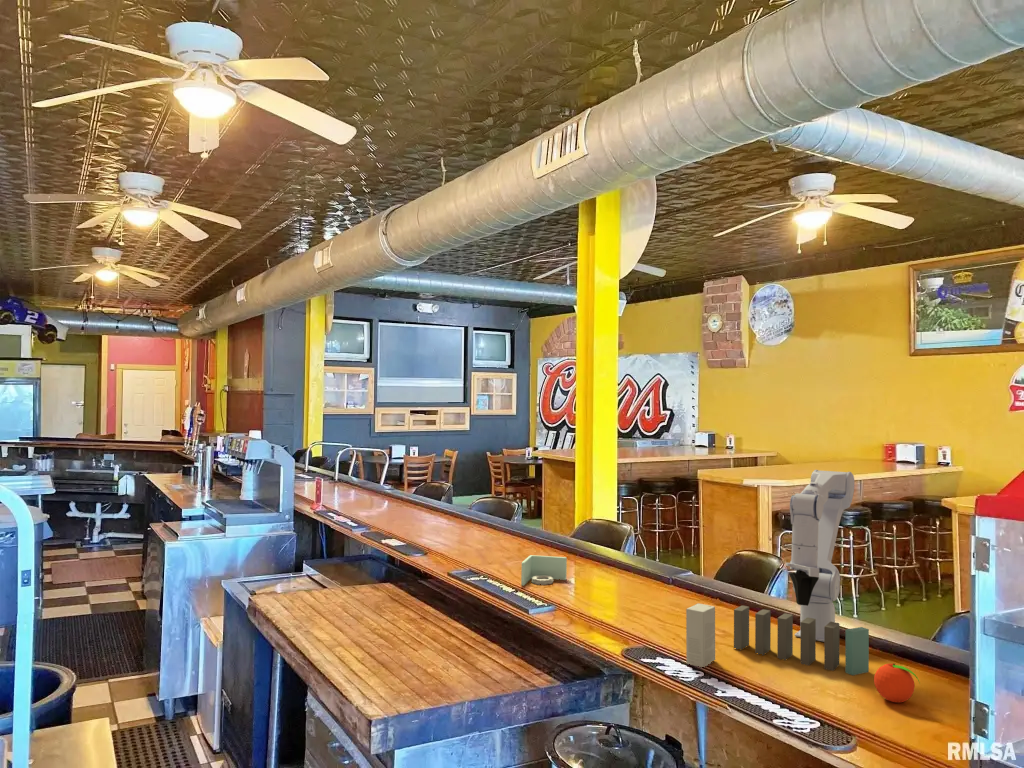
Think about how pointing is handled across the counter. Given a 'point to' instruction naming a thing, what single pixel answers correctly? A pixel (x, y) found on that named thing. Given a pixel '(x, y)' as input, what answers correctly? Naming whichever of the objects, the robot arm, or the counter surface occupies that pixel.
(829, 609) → the robot arm
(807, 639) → the domino
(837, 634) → the domino
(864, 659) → the domino
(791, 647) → the domino
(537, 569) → the l-shaped corner panel
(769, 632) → the domino
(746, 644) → the domino
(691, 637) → the skincare box
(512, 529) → the counter surface
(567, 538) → the counter surface
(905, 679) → the clementine
